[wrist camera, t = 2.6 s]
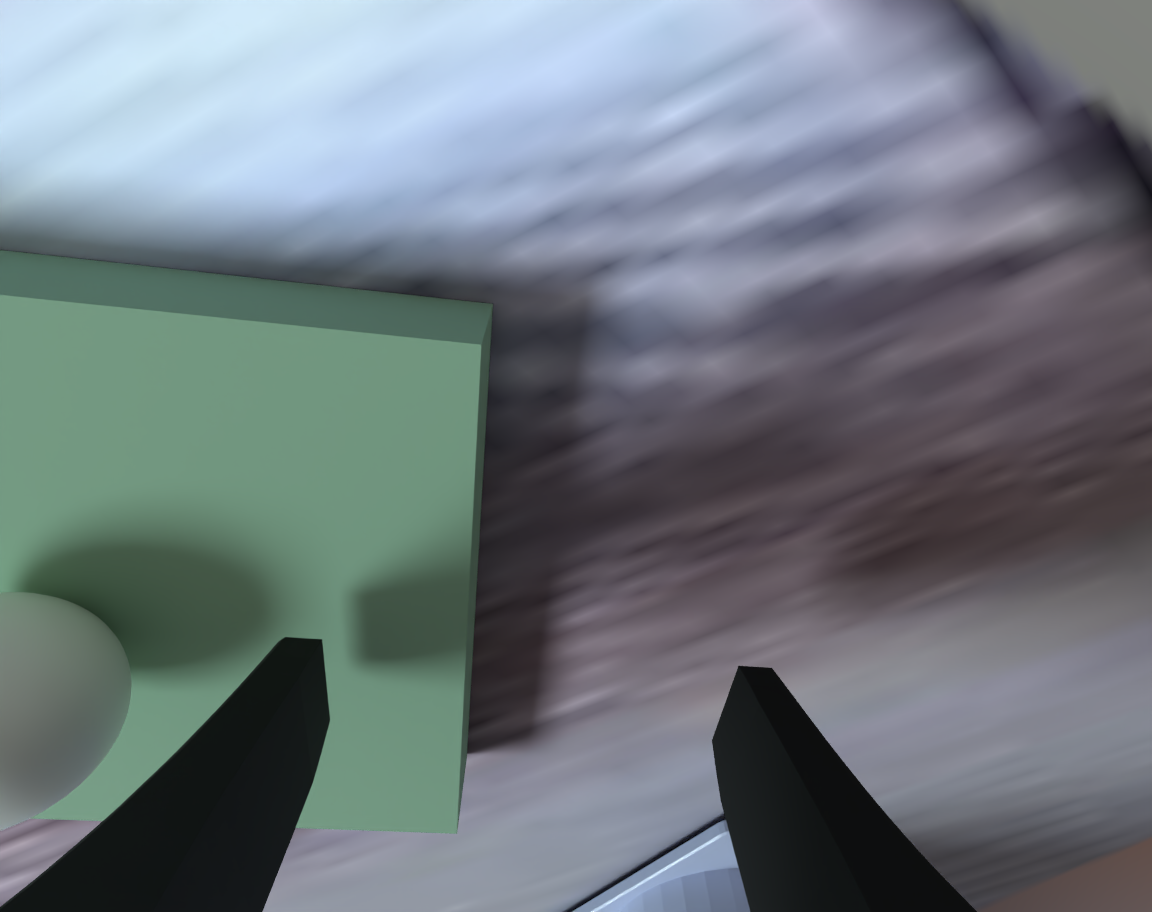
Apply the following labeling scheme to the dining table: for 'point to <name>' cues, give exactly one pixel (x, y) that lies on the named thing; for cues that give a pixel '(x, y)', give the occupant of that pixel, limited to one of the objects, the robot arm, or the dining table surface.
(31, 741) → the golf ball
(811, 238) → the dining table surface
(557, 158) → the dining table surface
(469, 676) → the putting mat
